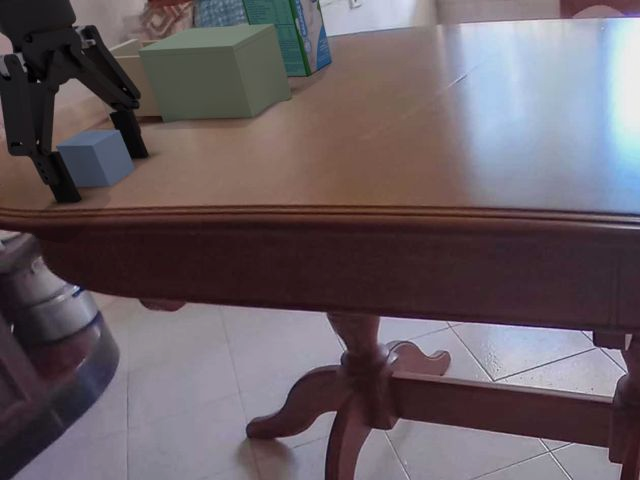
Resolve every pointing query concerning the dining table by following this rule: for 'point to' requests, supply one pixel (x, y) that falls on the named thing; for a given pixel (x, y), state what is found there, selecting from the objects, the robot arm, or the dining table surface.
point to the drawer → (135, 76)
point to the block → (96, 157)
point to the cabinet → (216, 72)
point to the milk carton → (294, 32)
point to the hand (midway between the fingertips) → (109, 184)
